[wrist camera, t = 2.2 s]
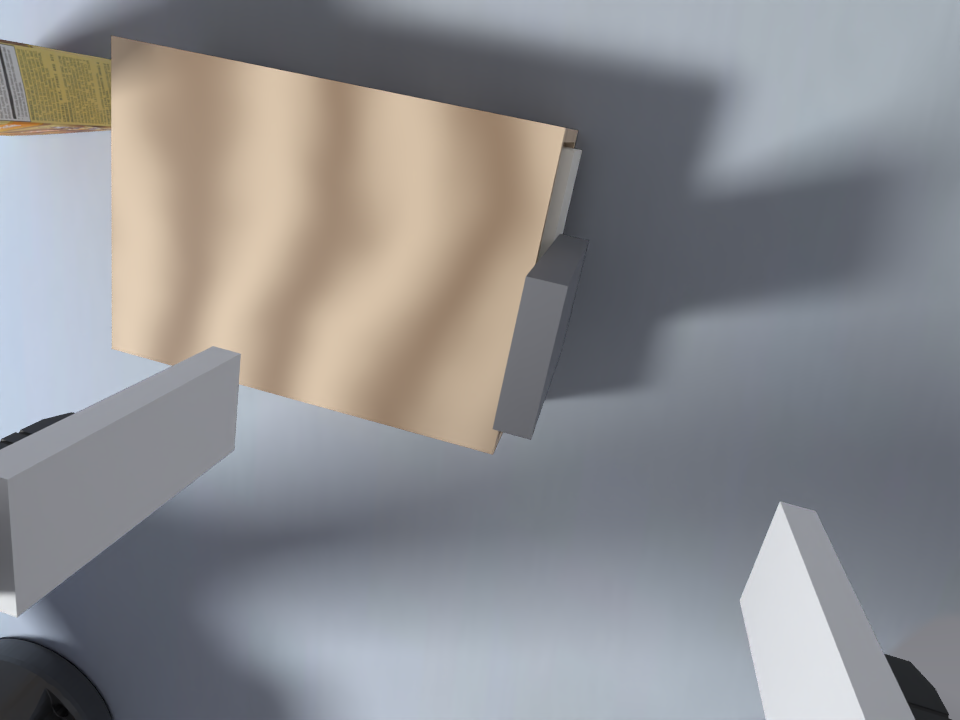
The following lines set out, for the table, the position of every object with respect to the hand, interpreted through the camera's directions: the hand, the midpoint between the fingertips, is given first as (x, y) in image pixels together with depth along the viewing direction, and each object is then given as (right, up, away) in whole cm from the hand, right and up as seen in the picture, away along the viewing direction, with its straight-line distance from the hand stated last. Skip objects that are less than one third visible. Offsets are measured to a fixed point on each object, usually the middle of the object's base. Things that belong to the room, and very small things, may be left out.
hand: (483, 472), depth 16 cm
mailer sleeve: (-7, +10, +23) cm, 26 cm away
